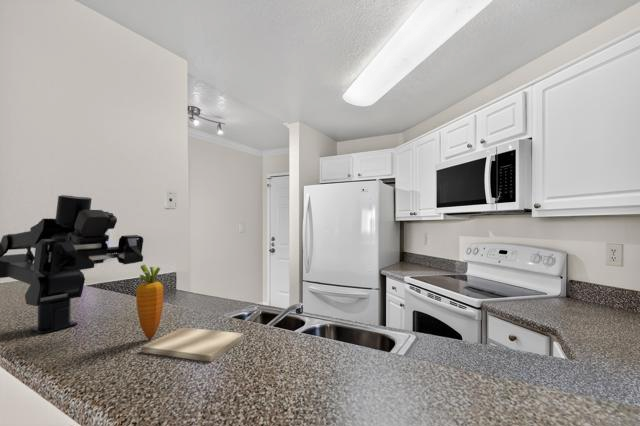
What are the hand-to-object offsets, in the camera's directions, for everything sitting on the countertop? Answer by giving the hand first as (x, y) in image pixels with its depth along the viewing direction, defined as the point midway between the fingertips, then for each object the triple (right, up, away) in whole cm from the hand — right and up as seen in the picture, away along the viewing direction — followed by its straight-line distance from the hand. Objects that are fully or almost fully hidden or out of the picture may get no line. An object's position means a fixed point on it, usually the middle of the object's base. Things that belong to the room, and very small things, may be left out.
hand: (119, 261), depth 58 cm
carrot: (+5, -16, +1) cm, 17 cm away
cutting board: (+16, -15, -2) cm, 22 cm away
